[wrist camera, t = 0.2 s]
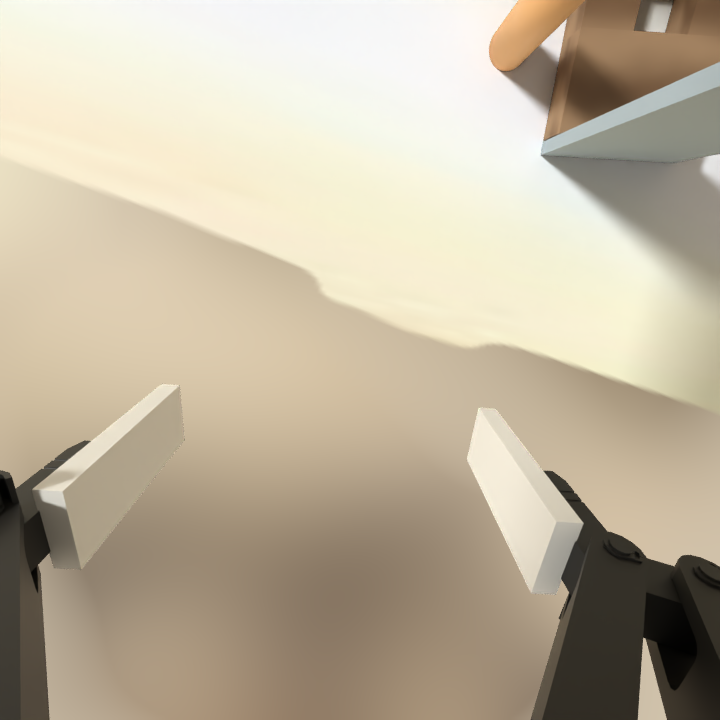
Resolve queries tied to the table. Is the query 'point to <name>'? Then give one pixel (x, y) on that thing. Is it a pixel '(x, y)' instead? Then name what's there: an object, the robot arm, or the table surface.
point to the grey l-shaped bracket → (652, 125)
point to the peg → (527, 30)
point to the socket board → (627, 57)
